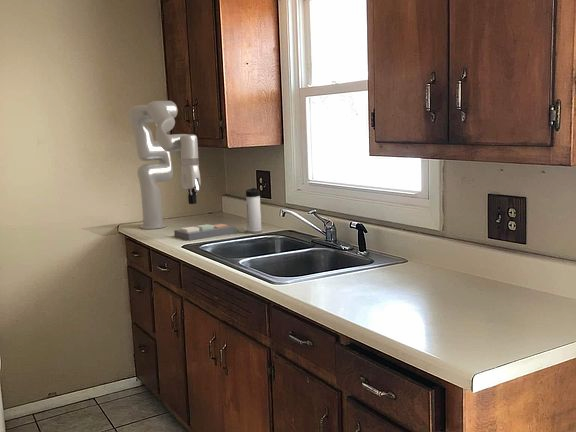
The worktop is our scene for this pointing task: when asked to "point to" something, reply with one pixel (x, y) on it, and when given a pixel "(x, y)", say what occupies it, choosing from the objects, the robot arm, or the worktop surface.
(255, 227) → the travel mug
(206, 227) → the sage key
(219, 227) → the terracotta key
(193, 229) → the cream key
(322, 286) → the worktop surface
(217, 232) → the keypad console
